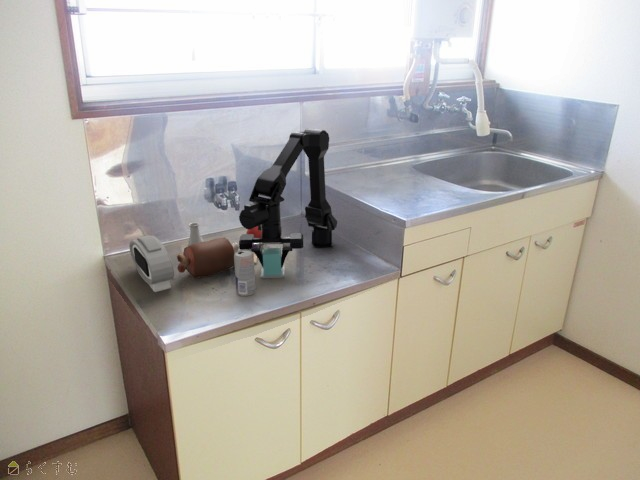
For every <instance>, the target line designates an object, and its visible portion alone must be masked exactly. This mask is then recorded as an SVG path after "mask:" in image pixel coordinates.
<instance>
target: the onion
mask: <svg viewBox="0 0 640 480" xmlns="http://www.w3.org/2000/svg"><path fill="white" fill-rule="evenodd" d="M246 230H247V231H246V233H245V234H254V238H262V232H261V230H258V226H257V227H255V228H253V229H246Z"/></svg>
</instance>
